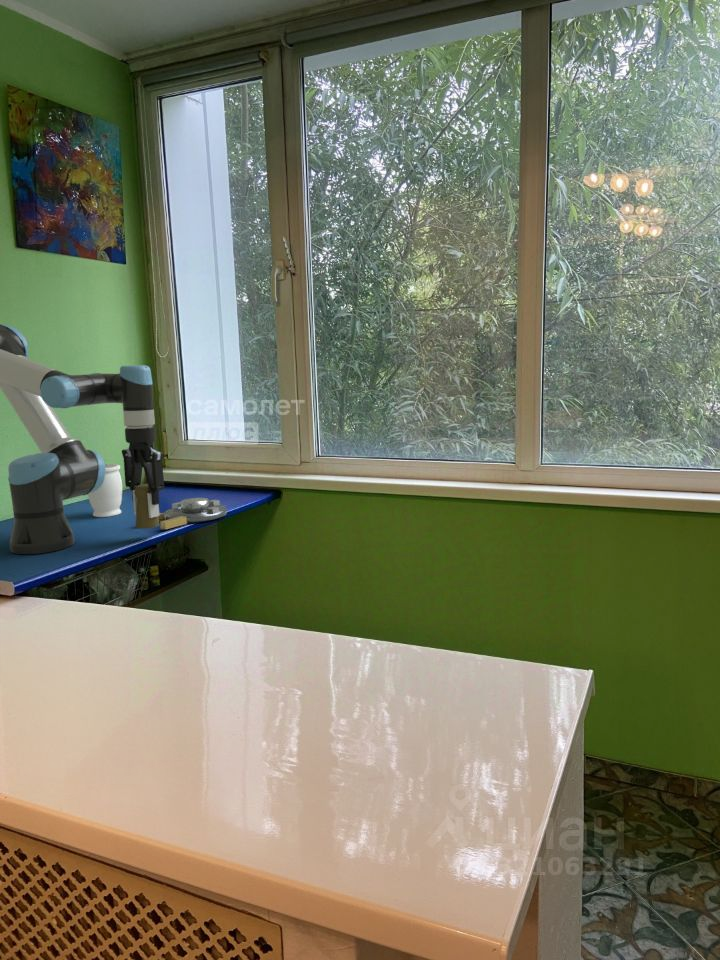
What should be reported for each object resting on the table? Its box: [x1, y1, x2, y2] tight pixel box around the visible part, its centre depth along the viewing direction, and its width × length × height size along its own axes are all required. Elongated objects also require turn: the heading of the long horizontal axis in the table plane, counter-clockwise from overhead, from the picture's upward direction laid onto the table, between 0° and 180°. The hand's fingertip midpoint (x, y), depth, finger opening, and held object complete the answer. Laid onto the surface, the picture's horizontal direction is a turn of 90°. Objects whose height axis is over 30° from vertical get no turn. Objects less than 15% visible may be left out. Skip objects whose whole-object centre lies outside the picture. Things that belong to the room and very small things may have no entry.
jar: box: [87, 463, 123, 518], centre depth 216 cm, size 11×10×15 cm
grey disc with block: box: [158, 497, 227, 530], centre depth 205 cm, size 25×18×4 cm
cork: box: [134, 483, 161, 530], centre depth 183 cm, size 6×6×11 cm
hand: (146, 515), depth 184 cm, fingers closed on cork, 5 cm apart
